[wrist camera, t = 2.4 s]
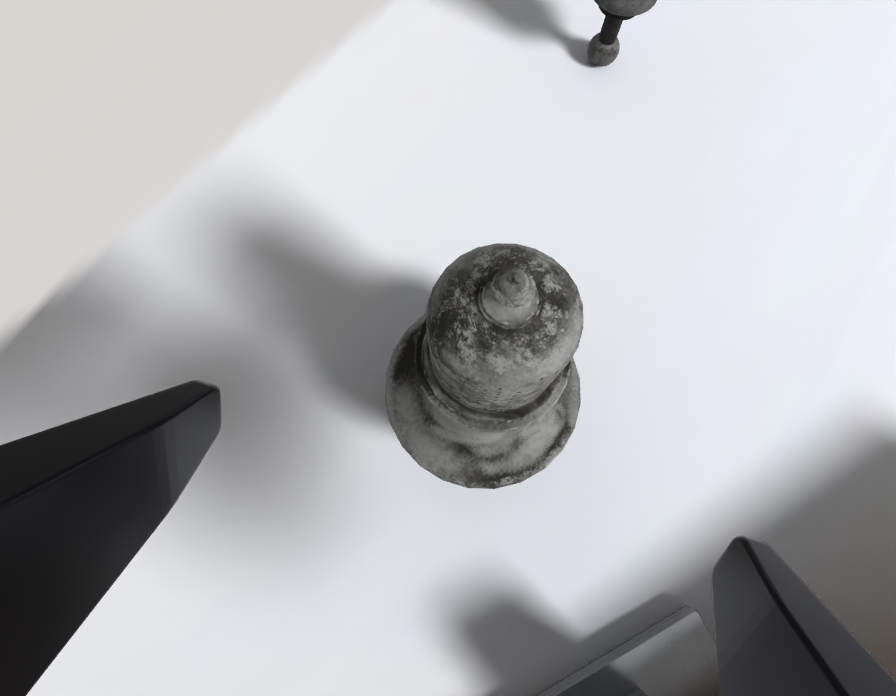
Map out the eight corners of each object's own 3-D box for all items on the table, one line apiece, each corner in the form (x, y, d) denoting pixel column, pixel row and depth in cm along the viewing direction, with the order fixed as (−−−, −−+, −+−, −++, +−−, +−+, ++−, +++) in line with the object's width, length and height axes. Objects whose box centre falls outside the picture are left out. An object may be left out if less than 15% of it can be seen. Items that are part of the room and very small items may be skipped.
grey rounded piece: (569, 481, 19) (761, 455, 7) (402, 499, 19) (327, 501, 7) (544, 322, 20) (669, 94, 9) (390, 337, 20) (312, 126, 9)
